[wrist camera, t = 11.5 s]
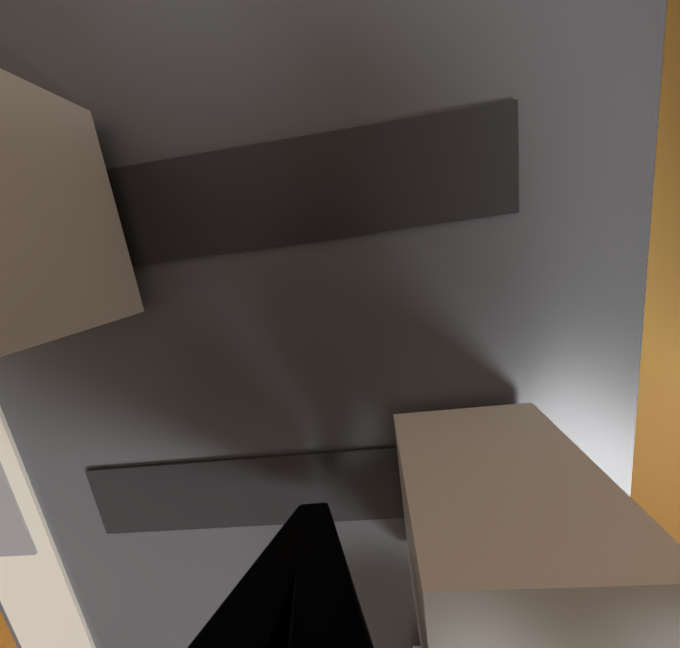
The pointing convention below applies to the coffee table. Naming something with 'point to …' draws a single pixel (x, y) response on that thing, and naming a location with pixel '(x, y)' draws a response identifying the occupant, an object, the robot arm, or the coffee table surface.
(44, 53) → the switch panel
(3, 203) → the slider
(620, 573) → the middle slider
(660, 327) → the coffee table surface
